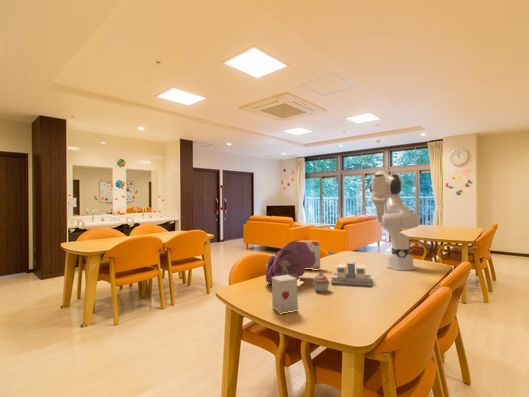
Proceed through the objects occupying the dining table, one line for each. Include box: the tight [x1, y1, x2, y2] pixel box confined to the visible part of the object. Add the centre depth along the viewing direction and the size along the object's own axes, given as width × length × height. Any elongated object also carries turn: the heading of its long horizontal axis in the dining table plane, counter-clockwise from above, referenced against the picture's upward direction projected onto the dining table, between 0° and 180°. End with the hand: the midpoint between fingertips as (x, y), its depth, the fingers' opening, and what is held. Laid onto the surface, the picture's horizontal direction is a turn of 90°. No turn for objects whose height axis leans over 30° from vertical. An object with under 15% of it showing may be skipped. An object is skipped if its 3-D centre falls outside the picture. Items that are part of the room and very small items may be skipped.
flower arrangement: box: [264, 240, 315, 285], centre depth 175 cm, size 35×24×28 cm
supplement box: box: [271, 275, 299, 313], centre depth 132 cm, size 9×9×15 cm
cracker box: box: [298, 239, 321, 269], centre depth 208 cm, size 14×6×21 cm, turn 68°
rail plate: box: [330, 263, 372, 288], centre depth 173 cm, size 19×22×9 cm
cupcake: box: [312, 272, 331, 293], centre depth 158 cm, size 9×9×10 cm
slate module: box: [346, 261, 356, 278], centre depth 173 cm, size 6×4×9 cm, turn 160°
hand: (380, 222), depth 178 cm, fingers open, 8 cm apart
